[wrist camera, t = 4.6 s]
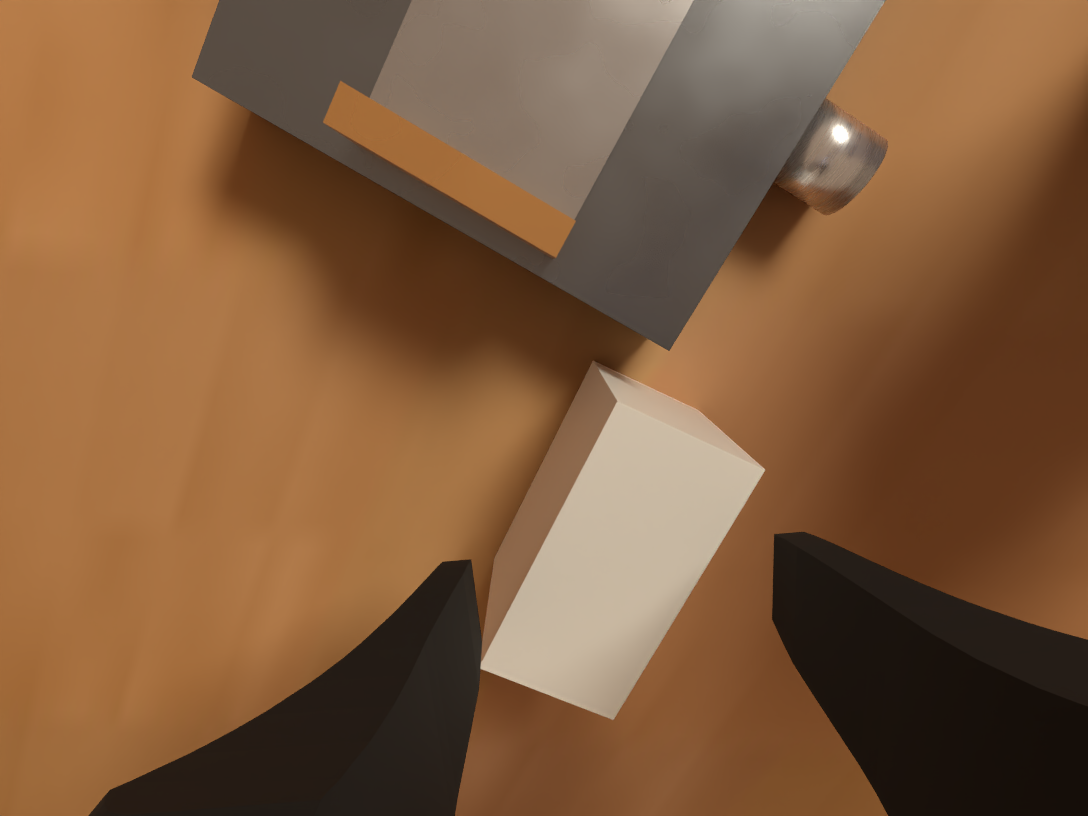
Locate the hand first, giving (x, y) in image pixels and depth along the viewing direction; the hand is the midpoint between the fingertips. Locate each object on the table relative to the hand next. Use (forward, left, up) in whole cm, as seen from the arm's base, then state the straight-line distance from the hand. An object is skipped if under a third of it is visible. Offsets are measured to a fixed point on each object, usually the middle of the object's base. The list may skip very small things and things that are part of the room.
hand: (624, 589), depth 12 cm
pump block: (0, 0, -6) cm, 6 cm away
